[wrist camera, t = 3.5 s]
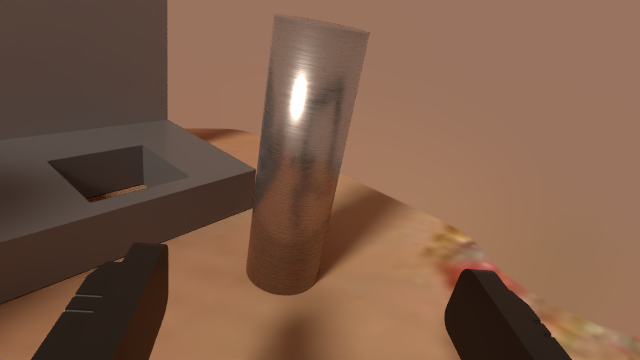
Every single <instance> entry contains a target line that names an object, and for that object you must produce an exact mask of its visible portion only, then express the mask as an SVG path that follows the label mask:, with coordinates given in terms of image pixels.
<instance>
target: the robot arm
mask: <svg viewBox="0 0 640 360" xmlns="http://www.w3.org/2000/svg"><path fill="white" fill-rule="evenodd" d="M167 300H168V246H167V245H166V244H155V243H142V242H134V243H133V244H132V246H131V247H130V249H129V251H128V253H127V254H126V256H125V258H124V260H123V261H122V262H109V261H107V262H106V263H104V264H103V265H101V266H100V267H99V268H97V269H96V270H95V271H93V272H92V273H90V274H89V275H88V276H87V277H86V279H85V280H84V282H83V283H82V285H81V286H80V288H79V289H78V291H77V292H76V295H75V297H73V298H72V299H71V301H70V302H69V304H68V305H67V307H66V308H65V312H63V313H62V314H61V316H60V317H59V319H58V320H57V322H56V323H55V325H54V326H53V328H52V329H51V331H50V332H49V334H48V335H47V337H46V338H45V339H44V341H43V342H42V344H41V345H40V347H39V348H38V350H37V351H36V353H35V354H34V356H33V357H32V359H31V360H149V357H150V354H151V352H152V349H153V346H154V343H155V340H156V337H157V335H158V332H159V329H160V326H161V323H162V320H163V318H164V314H165V311H166V306H167ZM540 321H541V320H540V319H539V318H538V316H537V315H536V314H535V313H534V311H533V310H532V309H531V308H530V306H529V305H528V304H527V303H525V302H524V301H523V300H522V299H521V298H519V297H518V296H517V295H516V294H514V293H513V292H512V291H511V290H509V289H508V288H507V287H506V286H505V284H504V283H503V282H502V280H501V279H500V278H499V277H498V275H497V274H496V273H495V272H493V271H488V270H475V269H465V270H463V271H462V272H461V274H460V276H459V278H458V281H457V283H456V285H455V288H454V290H453V293H452V295H451V297H450V300H449V302H448V304H447V307H446V310H445V326H446V330H447V332H448V334H449V336H450V338H451V340H452V342H453V344H454V346H455V348H456V350H457V353H458V355H459V357H460V359H461V360H572V359H571V358H570V357H569V355H568V354H567V353H566V352H565V350H564V349H563V348H562V347H561V345H560V344H559V343H558V342H557V340H556V339H555V338H554V337H551V333H550V331H549V330H548V329H547V328H546V326H545V325H544V324H541V322H540Z"/></svg>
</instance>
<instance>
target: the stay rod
mask: <svg viewBox="0 0 640 360" xmlns="http://www.w3.org/2000/svg"><path fill="white" fill-rule="evenodd" d="M369 34H370V32H367V31H364V30H361V29H356V28H353V27H348V26H344V25H339V24H334V23H329V22H324V21H319V20H313V19H308V18H301V17H295V16H288V15H278V14H275V15H274V22H273V31H272V40H271V49H270V58H269V68H268V77H267V85H266V94H265V103H264V112H263V121H262V131H261V139H260V148H259V157H258V166H257V175H256V184H255V193H254V202H253V211H252V220H251V229H250V239H249V248H248V257H247V266H246V271H247V275H248V277H249V279H250V280H251V281H252V283H253V284H255V285H256V286H257V287H258V288H260V289H262V290H264V291H266V292H269V293H272V294H277V295H294V294H299V293H302V292H304V291H306V290H308V289H309V288H310V287H312V286H313V284H314V283H315V281H316V279H317V275H318V270H319V266H320V261H321V256H322V252H323V247H324V242H325V238H326V233H327V228H328V224H329V219H330V215H331V210H332V205H333V201H334V196H335V191H336V187H337V182H338V177H339V173H340V168H341V163H342V159H343V154H344V150H345V144H346V140H347V136H348V130H349V126H350V122H351V117H352V112H353V108H354V103H355V99H356V93H357V89H358V84H359V80H360V75H361V71H362V66H363V61H364V57H365V52H366V48H367V43H368V38H369Z"/></svg>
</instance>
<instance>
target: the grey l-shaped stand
mask: <svg viewBox="0 0 640 360" xmlns="http://www.w3.org/2000/svg"><path fill="white" fill-rule="evenodd" d="M255 174H256V169H254V168H252V167H251V166H249V165H247V164H245V163H244V162H242V161H240V160H238V159H236V158H235V157H233V156H231V155H229V154H228V153H226V152H224V151H222V150H221V149H219V148H217V147H215V146H213V145H212V144H210V143H208V142H206V141H205V140H203V139H201V138H199V137H197V136H196V135H194V134H192V133H190V132H189V131H187V130H185V129H183V128H182V127H180V126H178V125H176V124H174V123H173V122H171V121H169V120H167V0H0V304H1V303H4V302H6V301H9V300H12V299H14V298H17V297H19V296H22V295H25V294H27V293H30V292H33V291H35V290H38V289H40V288H43V287H46V286H48V285H51V284H53V283H56V282H59V281H61V280H64V279H67V278H69V277H72V276H74V275H77V274H80V273H82V272H85V271H88V270H90V269H93V268H95V267H98V266H101V265H103V264H104V263H106V262H107V261H109V262H111V261H114V260H116V259H119V258H122V257H124V256H126V254H127V253H128V251H129V249H130V247H131V246H132V244H133V243H134V242H142V243H155V244H158V243H161V242H164V241H166V240H169V239H171V238H174V237H177V236H179V235H182V234H185V233H187V232H190V231H192V230H195V229H198V228H200V227H203V226H206V225H208V224H211V223H213V222H216V221H219V220H221V219H224V218H227V217H229V216H232V215H234V214H237V213H240V212H242V211H245V210H247V209H250V208H252V202H253V193H254V184H255ZM141 184H145V185H146V186H147V187H149V188H146V189H142V190H138V191H134V192H130V193H126V194H122V195H119V196H115V197H111V198H107V199H103V200H99V201H95V202H92V203H90V202H89V201H88V200H87V199H85V198H89V197H93V196H97V195H101V194H105V193H109V192H113V191H117V190H121V189H125V188H129V187H133V186H137V185H141Z"/></svg>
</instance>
